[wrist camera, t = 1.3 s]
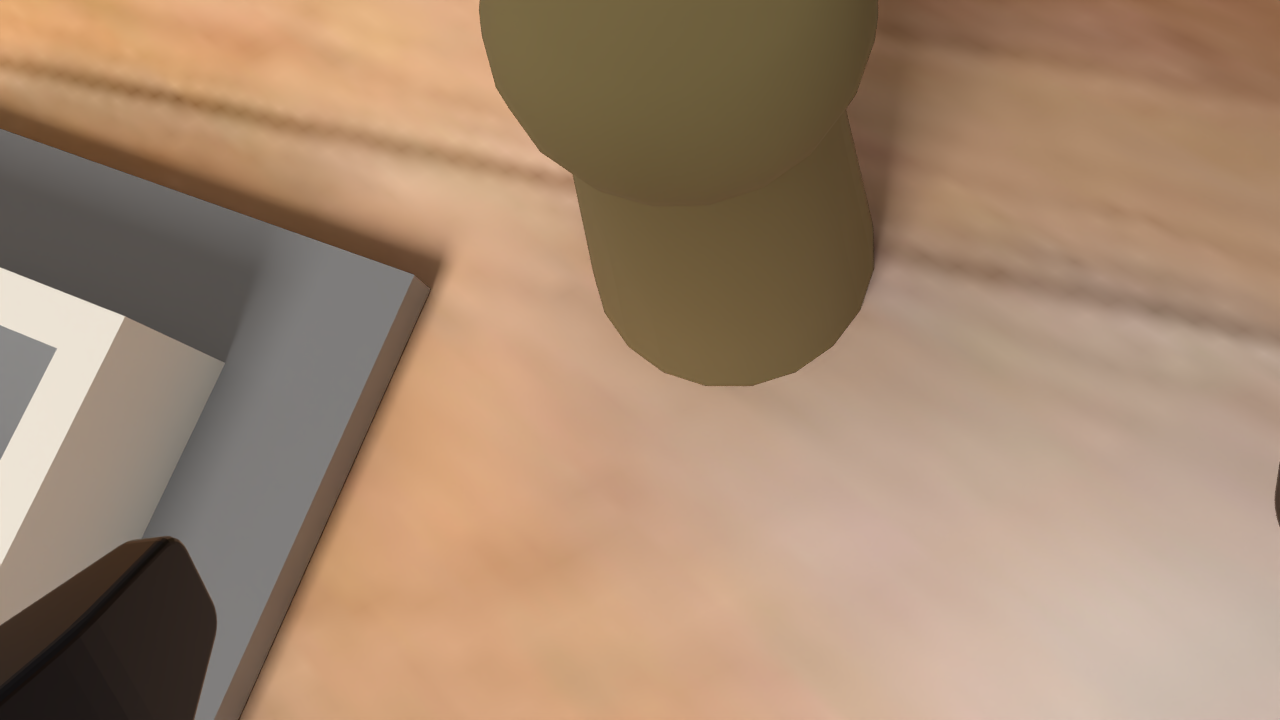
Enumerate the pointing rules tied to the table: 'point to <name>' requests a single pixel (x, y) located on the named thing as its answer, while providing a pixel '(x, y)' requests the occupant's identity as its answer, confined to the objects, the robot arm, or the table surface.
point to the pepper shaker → (704, 167)
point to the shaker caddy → (178, 390)
